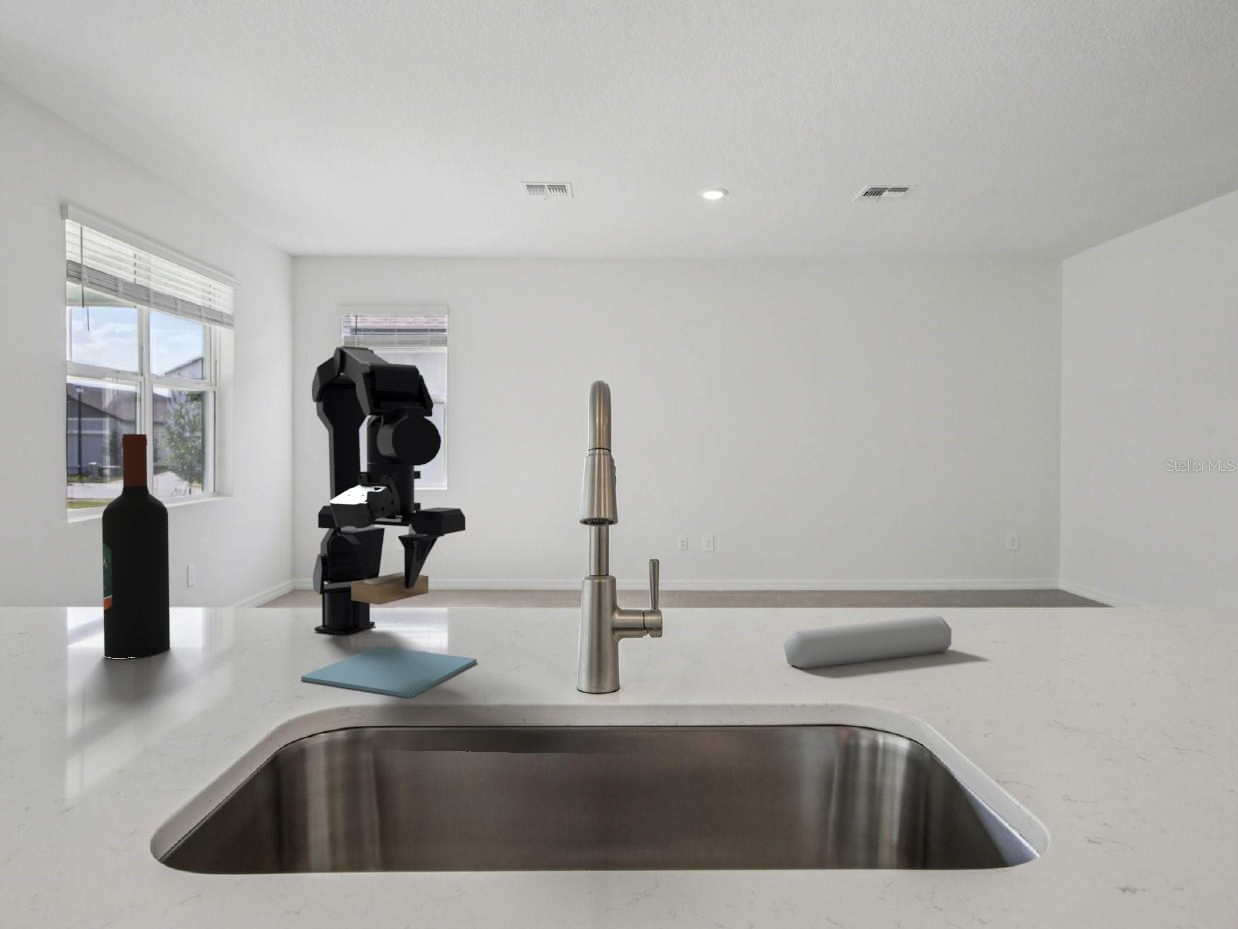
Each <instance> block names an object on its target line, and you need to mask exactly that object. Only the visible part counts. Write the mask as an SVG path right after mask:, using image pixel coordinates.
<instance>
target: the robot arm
mask: <svg viewBox="0 0 1238 929" xmlns="http://www.w3.org/2000/svg"><path fill="white" fill-rule="evenodd" d="M427 387H428V386H427V384H426V383H425V379H424V376H423V375H422V374H421V372H420V370H419V368H418V367H417V366H416V365H414V364H403V363H389V362H388V361H387V360H385V359H383V358H382V357H380V356H378V355H377V354H375V353H374V350H373V349H369V347H364V346H363V347H362V346H361V347H360V346H347V345H341V346H336V348H335V350H334V353H333V355H332V356H331V357H330V358H328V359H327V360H325V361H324V362H323V363H321V364H319V365H318V366H317V367H316V370H315V373H314V376H313V379H312V383H311V398H312V401H313V403H315V405H316V406H315V409H316V415H317V417H318V419H319V420H320V421H321V423H322V424H323V425H324V427H325V428H326V430H327V433H328V435H327V436H328V459H329V460H328V462H329V463H328V464H329V492H330V499H329V500H330V501H329V505H328V504H327V505H322V507H321V509H320V510H319V512H317V529H327V532H326V533H325V535H324V537H322V540H321V542H320V550H319V551H320V553H318V554H317V557H316V561H315V564H314V568H313V574H312V586H313V590H314V591H315V592H316V593H317V594H318V595H321V625H317V626H315V627H314V632H323V633H328V634H338V635H345V636H347V635H351V634H353V633H357V632H360V631H362V630H365V629H368V628H371V627H373V626H375V625H376V622H375V621H372V620H371V617H370V616H371V615H370V614H371V610H370V609H371V603H366V602H360V601H354V600H351V582H355V581H360V580H365V579H370V578H375V577H380V570H381V563H382V554H383V546H384V540H385V539H384V538H385V531H386V528H385V527H377V526H391V527H408V534H403V535H398V536H397V537H398V540H399V541H400V543H401V545H402V546H403V549H404V550H403V551H404V557H403V558H404V559H403V562H404V563H403V564H404V566H403V567H404V569H403V570H404V572H405V585H406V588H407V589H410V588H413V587H414V585H415V583H416V580H417V578H418V576H419V575H421V572H422V569H423V568H424V565H425V563H426V560H427V558H428V556H429V554H430V553H431V551H432V549H433V548H434V546H435V544H436V543H437V541H438V539H439V538H441V537H445V535H449V534H454V533H458V532H464V531H466V516H465V514H464V512H463V511H462V510H461V508H460V507H459V508H457V507H456V508H455V507H439V506H438V507H430V508H424V509H421V507H422V506H421V504H422V502H416V501H415V480H421V479H422V476H421V475H422V474H421V473H422V472H421V470H415V466H417V467H418V466H419V467H420V466H424V465H426V464H428V463H431V462H432V461H433V460H434V459H435V458H436V456H437V455H438V454H439V452H440V449H441V444H442V437H441V435H440V433H439V432H440V431H439V429H438V427H437V426H436V424H434V423H433V421H431V420H430V419H428V418H433V413H434V412H433V409H434V402H433V400H432V397H431V394H430V392H429V389H428V388H427ZM369 416H370V417H369ZM367 417H368V419H367V421H366V418H367ZM365 421H366V470H365V471H361V443H360V442H361V441H360V440H361V437H360V429H361V427H362V425H363V423H364V422H365ZM404 572H403V573H404ZM325 582H326V583H325Z"/></svg>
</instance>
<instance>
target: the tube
mask: <svg viewBox="0 0 1238 929" xmlns="http://www.w3.org/2000/svg"><path fill="white" fill-rule="evenodd" d="M951 645H952V628H951V627H950V626H949V624H948V623H947V622H946V620H945V619H944V618H943V617H942V616H939V615H935V614H932V613H928V614H927V615H925V616H920V617H919V616H915V617H907V618H901V619H900V618H899V619H898V618H897V619H891V620H883V621H874V622H873V621H871V622H863V623H856V624H855V623H853V624H845V625H844V624H843V625H836V626H835V625H834V626H827V627H819V628H811V629H801V630H793V632H792V633H791V634H790V635H789V636H788V637H787V639H786V640H785V641H784V642H783V650H784V653H785V657H786V662H787V664H789V665H792V666H793V667H794V666H795V667H797V668H798V669H800V668H809V669H813V668H812V667H817V668H824V666H825V667H832V666H831V665H834V666H838V665H837V664H842V665H849V664H857V663H864V662H872V661H880V660H887V659H897V658H904V657H905V658H906V657H912V656H922V655H929V654H937V653H941V654H944V653H946V652H947V651H948V649H949V648H950V647H951Z"/></svg>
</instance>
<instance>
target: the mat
mask: <svg viewBox="0 0 1238 929" xmlns="http://www.w3.org/2000/svg"><path fill="white" fill-rule="evenodd" d="M476 663H477V658H474V657H465V656H459V655H458V656H457V655H450V654H443V653H435V652H427V651H422V650H421V651H419V650H413V649H404V648H397V647H390V646H383V645H377V646H374V647H371V648H369V649H367V650H365V651H362V652H359V653H357V654H354V655H352V656H350V657H347V658H344V659H342V660H339V661H336V662H333V663H332V664H329V665H327V666H324V667H322V668H318V669H316V670H314V671H311V672H309V673H306V674H304V675H301V676H300V678H301V681H303V682H309V683H315V684H322V685H328V686H333V687H339V688H340V687H341V688H347V689H353V690H360V691H365V692H371V693H377V694H378V693H379V694H385V695H391V696H397V697H401V698H402V697H404V698H408V699H411V698H413V697H415V696H416V695H419V694H420V693H422V692H425V691H426V690H427V689H430V688H432V687H434V686H436V685H437V684H439V683H441V682H443V681H444V680H446V679H448V678H450V677H452V676H454V675H456V674H459V673H460V672H461V671H464V670H466V669H467V668H468V667H470V666H473V665H475V664H476Z"/></svg>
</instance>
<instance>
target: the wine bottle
mask: <svg viewBox="0 0 1238 929" xmlns="http://www.w3.org/2000/svg"><path fill="white" fill-rule="evenodd" d="M121 446H122V482H123V485H122V489H121V490H122V491H121V493H120V495H119V496H117V497H116V498H115V499H113V500H112V501H111V502H109V503H108V504H107V506H106V507H105V508H104V510H103V512H102V516H101V534H102V535H101V540H102V543H101V544H102V590H103V592H102V594H103V596H102V597H103V601H102V602H103V603H102V604H103V606H102V607H103V646H104V647H103V650H104V651H103V653H104V656H106V657H111V658H128V657H129V658H130V657H143V658H146V657H145V656H148V657H151V655H153V656H156V655H159V654H162V653H165V652H167V651H169V650H170V649H171V629H170V628H171V626H170V624H171V623H170V622H171V621H170V620H171V619H170V613H171V612H170V561H169V560H170V558H169V557H170V556H169V555H170V551H169V548H170V547H169V512H168V509H167V507H166V506H165V504H164V503H163V502H162V501H161V500H160V499H158V498H156V496H154V495H152V494H151V493H150V491H149V488H148V456H147V455H148V451H147V450H148V449H147V448H148V447H147V446H148V437H147V433H144V434H143V433H141V434H140V433H122V438H121ZM106 657H105V658H106Z"/></svg>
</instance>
